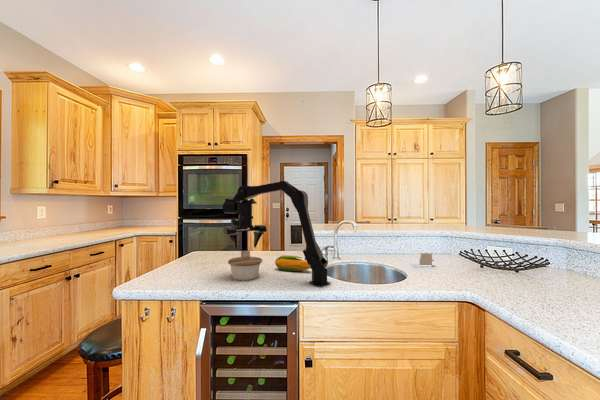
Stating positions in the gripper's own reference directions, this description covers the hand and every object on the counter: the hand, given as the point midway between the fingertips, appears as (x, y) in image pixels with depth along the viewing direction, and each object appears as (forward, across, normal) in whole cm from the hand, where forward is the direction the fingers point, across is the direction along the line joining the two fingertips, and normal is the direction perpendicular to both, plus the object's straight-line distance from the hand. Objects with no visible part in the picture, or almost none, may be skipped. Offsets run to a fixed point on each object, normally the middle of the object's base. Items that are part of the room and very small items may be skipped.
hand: (245, 248), depth 121 cm
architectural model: (+13, -88, +34) cm, 95 cm away
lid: (+6, 0, 0) cm, 6 cm away
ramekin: (+13, 0, 0) cm, 13 cm away
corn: (+13, -24, +3) cm, 28 cm away
